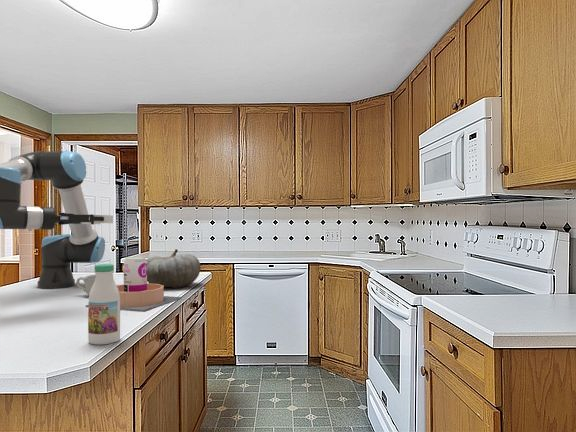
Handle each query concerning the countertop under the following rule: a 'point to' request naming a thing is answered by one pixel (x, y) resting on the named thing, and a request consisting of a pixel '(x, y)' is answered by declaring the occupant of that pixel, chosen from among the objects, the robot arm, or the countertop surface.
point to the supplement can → (135, 274)
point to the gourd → (173, 270)
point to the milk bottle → (104, 307)
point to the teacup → (86, 283)
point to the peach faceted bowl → (144, 298)
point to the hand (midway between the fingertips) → (106, 220)
